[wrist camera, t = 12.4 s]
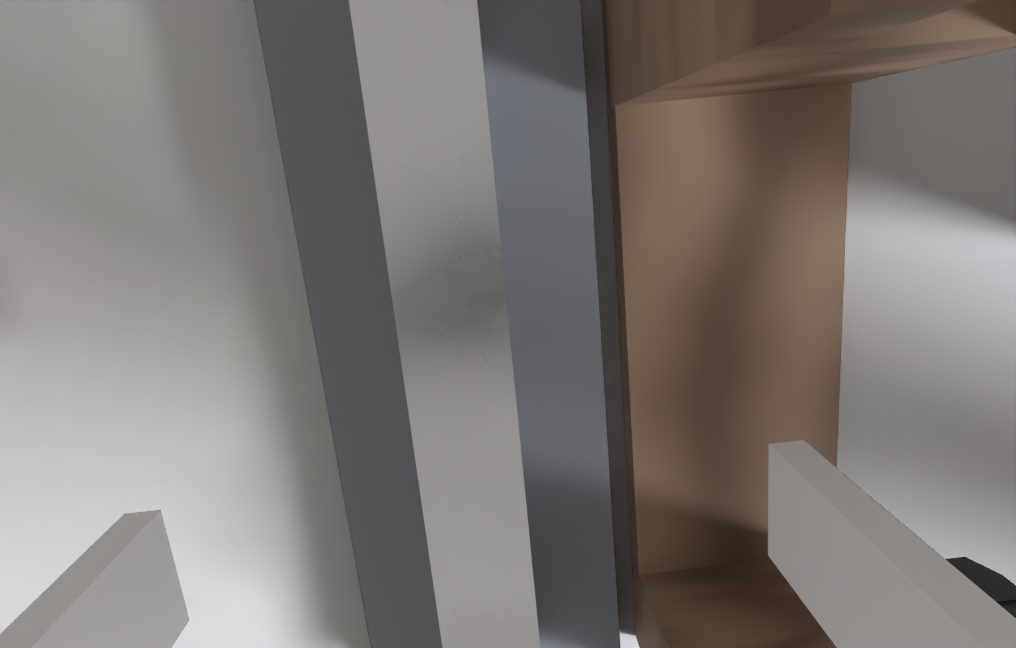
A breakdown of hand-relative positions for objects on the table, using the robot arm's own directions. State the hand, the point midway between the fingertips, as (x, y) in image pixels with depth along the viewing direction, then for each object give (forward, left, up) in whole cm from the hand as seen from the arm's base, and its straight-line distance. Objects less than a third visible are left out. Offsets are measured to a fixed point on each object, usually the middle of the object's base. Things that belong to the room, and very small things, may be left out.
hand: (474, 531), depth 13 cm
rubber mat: (0, 0, -11) cm, 11 cm away
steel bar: (0, 0, -9) cm, 9 cm away
